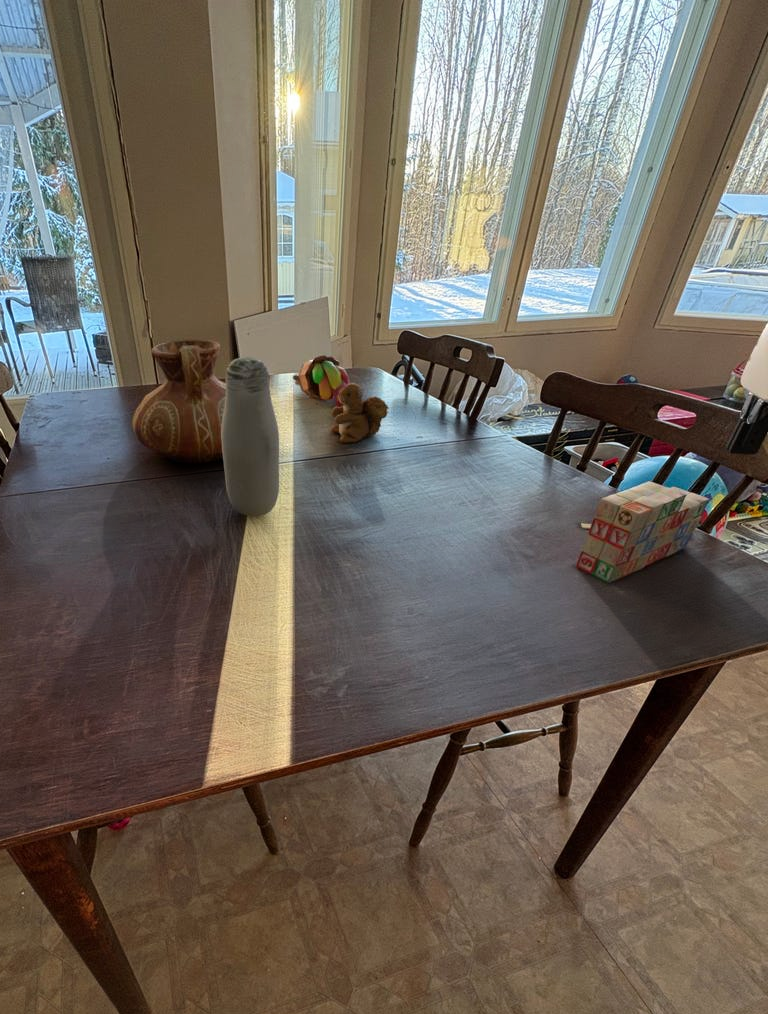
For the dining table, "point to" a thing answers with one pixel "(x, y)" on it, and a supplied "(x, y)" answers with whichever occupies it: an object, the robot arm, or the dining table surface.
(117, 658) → the dining table surface
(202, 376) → the jug
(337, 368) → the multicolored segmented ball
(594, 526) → the stack of blocks
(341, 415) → the stuffed squirrel
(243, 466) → the grey bottle
